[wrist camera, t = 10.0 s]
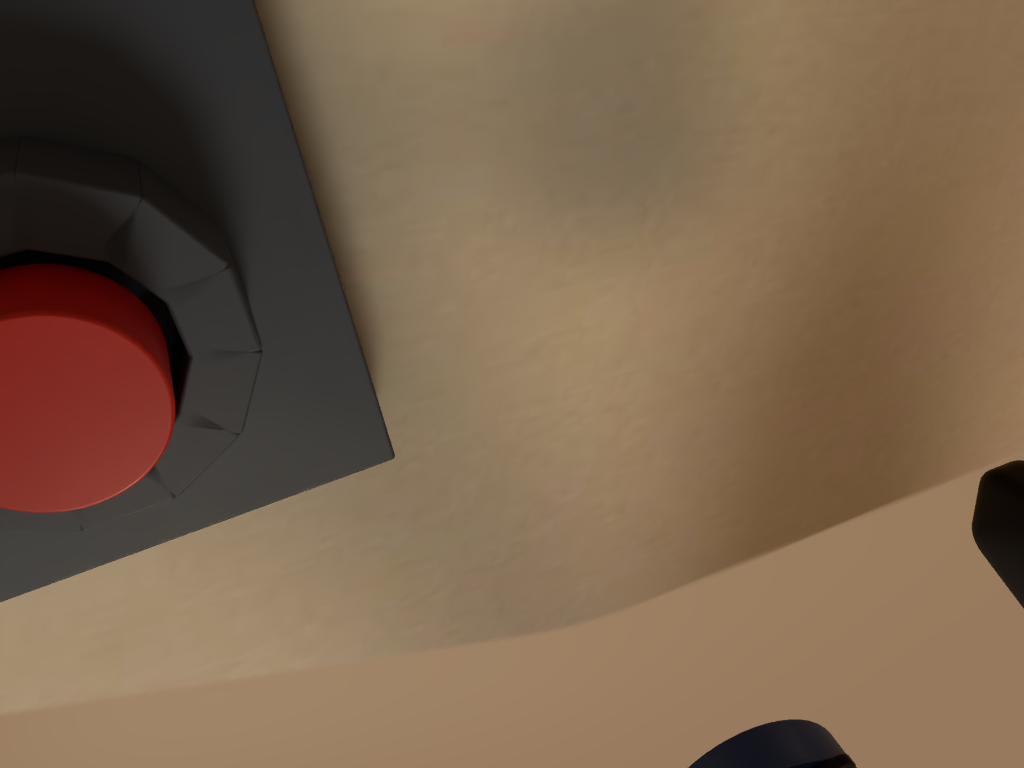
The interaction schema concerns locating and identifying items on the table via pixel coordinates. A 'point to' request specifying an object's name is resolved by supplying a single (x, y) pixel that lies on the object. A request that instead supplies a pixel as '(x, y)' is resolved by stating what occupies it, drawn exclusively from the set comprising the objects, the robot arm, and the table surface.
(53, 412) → the button
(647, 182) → the table surface
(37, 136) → the button block
